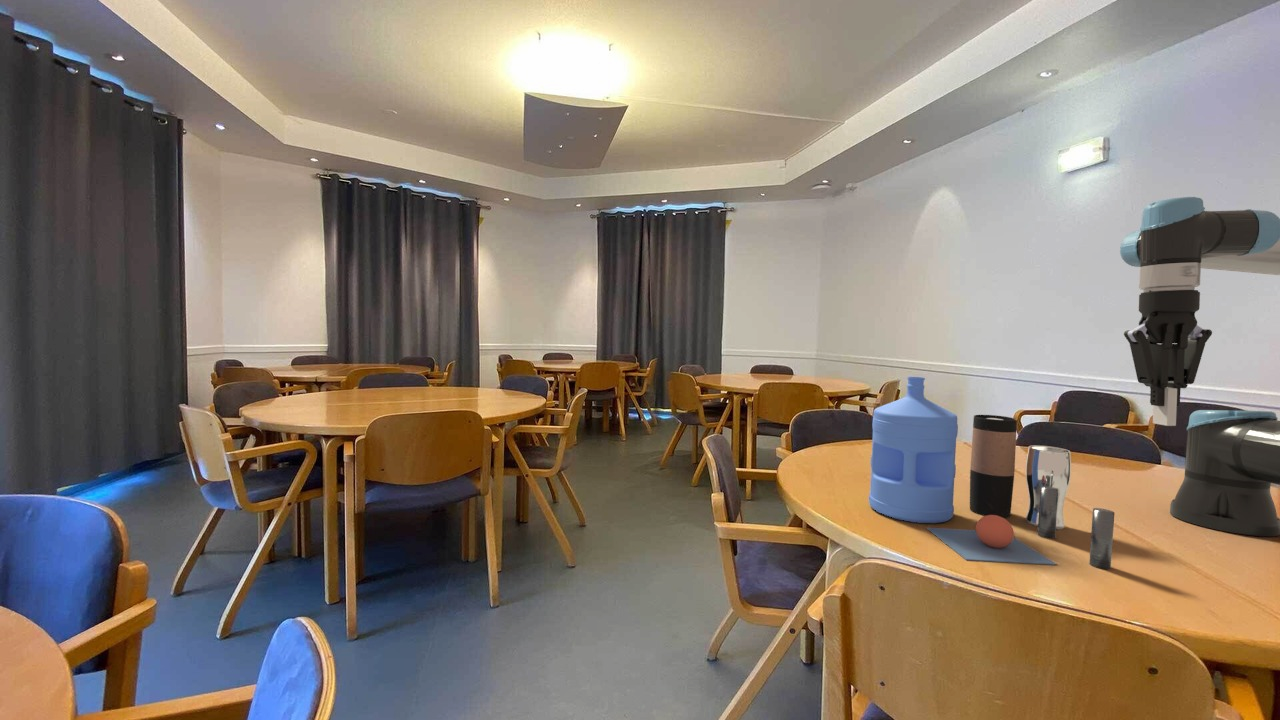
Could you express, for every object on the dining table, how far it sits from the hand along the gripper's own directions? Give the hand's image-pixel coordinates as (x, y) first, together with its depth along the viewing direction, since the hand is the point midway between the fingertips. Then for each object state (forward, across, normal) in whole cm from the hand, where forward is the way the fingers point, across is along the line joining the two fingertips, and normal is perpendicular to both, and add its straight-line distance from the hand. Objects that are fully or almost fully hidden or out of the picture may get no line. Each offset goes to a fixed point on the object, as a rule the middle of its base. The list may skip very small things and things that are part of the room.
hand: (1164, 424), depth 93 cm
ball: (+18, -31, -4) cm, 36 cm away
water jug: (+21, -38, +14) cm, 45 cm away
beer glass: (+22, -14, +9) cm, 27 cm away
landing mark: (+21, -32, -3) cm, 38 cm away
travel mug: (+21, -20, +15) cm, 33 cm away
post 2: (+21, -18, -10) cm, 30 cm away
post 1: (+21, -18, +2) cm, 28 cm away
